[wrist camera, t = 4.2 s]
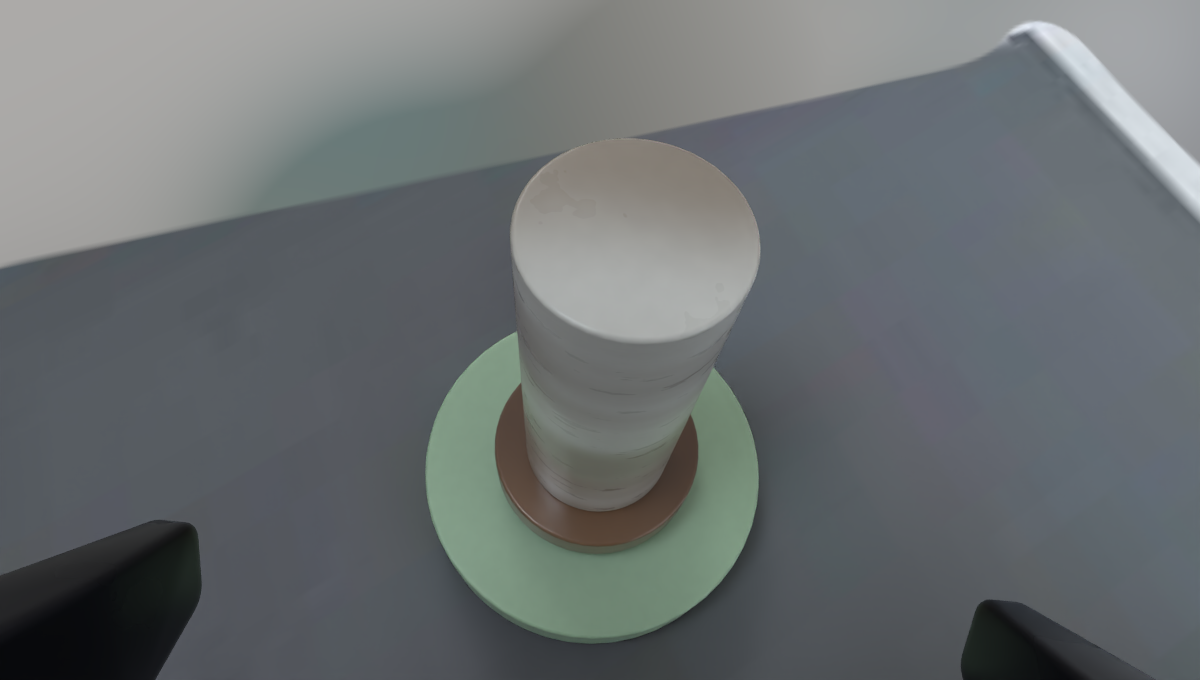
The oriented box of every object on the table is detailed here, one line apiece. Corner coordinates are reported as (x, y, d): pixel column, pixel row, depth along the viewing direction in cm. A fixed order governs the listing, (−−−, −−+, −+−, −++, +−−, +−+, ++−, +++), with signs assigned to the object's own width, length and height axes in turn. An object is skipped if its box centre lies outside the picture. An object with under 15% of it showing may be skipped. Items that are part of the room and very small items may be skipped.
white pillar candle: (698, 556, 17) (845, 403, 9) (489, 553, 17) (431, 393, 9) (675, 201, 23) (753, -111, 14) (515, 194, 22) (496, -128, 14)
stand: (761, 644, 18) (778, 640, 17) (414, 643, 18) (403, 637, 16) (731, 342, 22) (742, 318, 21) (450, 333, 22) (443, 308, 21)
